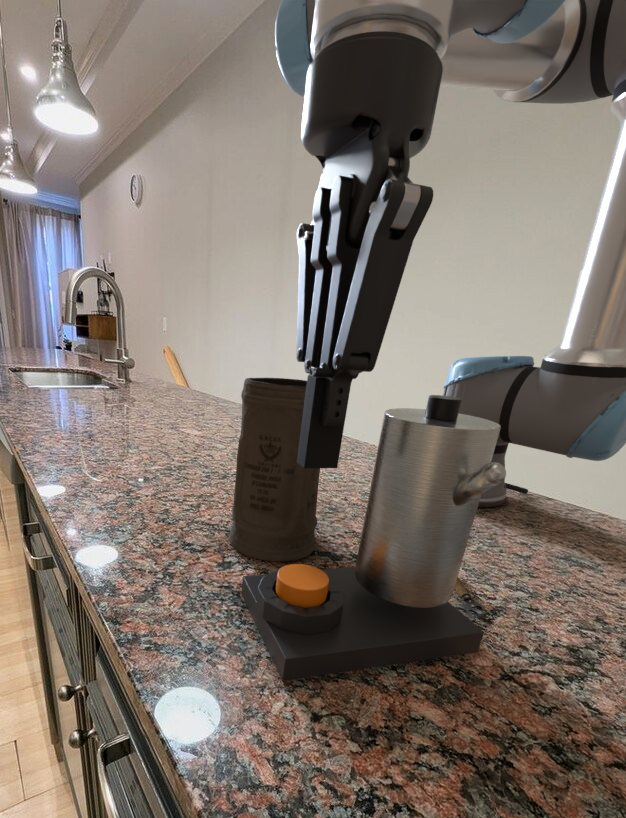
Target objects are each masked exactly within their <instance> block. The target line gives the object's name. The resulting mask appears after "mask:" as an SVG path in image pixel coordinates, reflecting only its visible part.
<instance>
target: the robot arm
mask: <svg viewBox="0 0 626 818" xmlns="http://www.w3.org/2000/svg"><path fill="white" fill-rule="evenodd" d="M276 13H277V14H276V18H275V24H274V37H275V39H274V44H275V54H276V59H277V63H278V67H279V70H280V72H281V74H282V77H283V78H284V80H285V82H286V84H287V85H288V87H289V88H290V89H291V90H292V91H293V92H294V93H295V94H296V95H298V96H300V97H303V98H304V99H303V109H302V119H301V127H300V139H301V143H302V145H303V148H304V149H305V150H306V152H307V153H308V154H309V155H311V156H312V157H314V158H316V159H317V160H318V161H319V163H320V164H321V167H322V171H321V174H320V178H319V183H318V186H317V189H316V191H315V194H314V199H313V206H312V221H311V223H305V222H303V223H302V222H300V224H299V225H298V228H297V229H296V244H297V251H298V287H297V288H298V290H297V318H296V319H297V320H296V321H297V323H296V330H297V331H296V352H295V353H296V354H295V355H296V356H295V357H296V361H297V362H299V363H304V364H303V367H304V371H305V373H306V374H307V379H306V381H307V386H306V394H305V402H304V410H303V418H302V426H301V434H300V442H299V450H298V458H297V463H298V464H299V465H301V466H302V467H303V468H320V469H338V466H339V460H340V454H341V447H342V442H343V441H342V440H343V434H344V428H345V423H346V417H347V412H348V405H349V399H350V393H351V386H352V382H353V380H356V379H357V378H358V377H359V375H360V374H361V373H363V372H365V373H370V372H373V370H374V369H375V367H376V364H377V360H378V357H379V354H380V351H381V348H382V344H383V341H384V338H385V335H386V332H387V327H388V325H389V321H390V319H391V315H392V312H393V309H394V305H395V301H396V298H397V296H398V292H399V288H400V285H401V282H402V278H403V275H404V273H405V269H406V266H407V262H408V259H409V256H410V253H411V249H412V247H413V244H414V240H415V238H416V236H417V234H418V232H419V230H420V228H421V225H422V224H423V222H424V220H425V218H426V216H427V215H428V211H429V210H430V207H431V205H432V203H433V199H434V189H433V187H431V186H428V185H424V184H418V183H414V182H413V181H412V180H411V179H410V177H408V176H409V173H410V167H411V160H410V159H412V158H414V157H415V156H417V155H418V154H419V153H421V151H423V150H424V149H425V148H426V146H427V145H428V143H429V141H430V139H431V135H432V131H433V126H434V120H435V115H436V109H437V105H438V101H439V100H438V99H439V95H440V89H441V88H451V89H468V90H469V89H470V90H471V89H472V90H490V91H491V90H493V92H494V93H495V94H496V96H497V97H498V98H499V99H501V100H503V101H505V102H509V103H526V104H527V103H529V104H561V105H562V104H577V103H587V102H591V101H596V100H600V99H605V98H608V97H612V100H611V103H610V107H609V111H610V112H611V113H612V114H613V115H614V117H615V119H617V121H618V122H619V124H620V126H619V127H620V128H619V130H618V135H617V138H616V142H615V145H614V148H613V153H612V156H611V160H610V163H609V167H608V170H607V174H606V177H605V182H604V184H603V188H602V191H601V196H600V199H599V203H598V206H597V209H596V214H595V217H594V219H593V223H592V227H591V232H590V235H589V239H588V242H587V246H586V249H585V252H584V256H583V259H582V263H581V267H580V270H579V274H578V276H577V277H578V278H577V281H576V284H575V289H574V292H573V295H572V298H571V303H570V306H569V309H568V313H567V317H566V320H565V324H564V328H563V331H562V335H561V338H560V342H559V344H558V345H557V346H556V347H554V348H553V349H552V350H550V351H549V352H547V353H546V354H544V355H543V357H542V361H541V365H540V366H539V367H538V366H535V362H534V357H533V356H530V355H507V356H505V355H504V356H501V355H499V356H498V355H497V356H496V355H495V356H475V357H463V358H459V359H457V360H456V361H455V360H454V362H452V365H450V368H449V370H448V374H447V377H446V380H445V383H444V385H443V392H442V396H450V397H456V398H460V399H462V402H461V406H460V410H459V414H464V415H470V416H474V417H479V418H483V419H487V420H490V421H493V422H495V423H497V424H499V425H500V426H501V429H500V432H499V436H498V439H497V443H496V446H495V449H494V453H493V456H492V460H491V462H497V463H500V464H501V465H503V466H504V468H505V469H506V454H507V450H508V447H509V444H513V445H517V446H522V447H526V448H531V449H534V450H539V451H544V452H549V453H553V454H558V455H560V456H561V455H562V456H566V458H569V459H572V458H576V459H581V460H582V459H583V460H588V461H593V462H601V461H606V460H608V459H611V458H613V456H615V455H616V454H617V453H618V452H619V451H621V449H623V448H624V446H625V445H626V0H281V2H280V3H279V6H278V9H277V12H276ZM505 481H506V478H505V479H504V480H503V481H502V482H501V483H500V484H498V485H496V486H495V487H493V488H491V489H489V490H488V491H486V492H484V493H483V494H481V498H480V501H479V505H478V508H494V507H499V506H502V504H504V503H505V499H506V495H507V490H510V491H514V492H518V493H520V494H525V495H526V494H528V493H529V490H528V489H529V488H525V487H521V486H518V485H515V484H511V483H508V482H505Z"/></svg>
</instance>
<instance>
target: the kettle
mask: <svg viewBox="0 0 626 818" xmlns="http://www.w3.org/2000/svg"><path fill="white" fill-rule="evenodd" d="M461 402H462V399H460V398H456V397H450V396H443V395H441V394H430V395H429V396H428V399H427V403H426V407H425V408H410V407H409V408H407V407H404V408H403V407H401V408H400V407H399V408H397V407H396V408H389V409H386V410H384V413H383V419H382V424H381V430H380V435H379V440H378V445H377V450H376V456H375V462H374V467H373V472H372V476H371V482H370V486H369V487H370V488H369V493H368V498H367V503H366V509H365V515H364V520H363V524H362V529H361V534H360V541H359V546H358V551H357V556H356V561H355V566H354V567H355V577H356V579H357V581H358V582H359V583H360V585H361V586H362V587H364V588H365V589H366V590H367V591H369V592H370V593H372V594H374V595H376V596H377V597H379V598H382V599H384V600H387V601H389V602H392V603H396V604H399V605H403V606H409V607H417V608H431V607H437V606H441V605H443V604H445V603H447V602H450V600H451V599H452V597H453V594H454V590H455V589H454V587H455V584H456V580H457V577H458V578H459V573H460V570H461V566H462V562H463V559H464V555H465V553H466V549H467V545H468V542H469V539H470V535H471V532H472V529H473V525H474V523H475V522H474V521H475V518H476V514H477V511H478V508H479V507H478V505H479V501H480V498H481V494H483V493H484V492H486V491H488V490H489V489H491V488H493V487H495V486H496V485H498V484H500V483H501V482H502V481H503V480H504V479H505V480H506V477H507V469H506V467H505V468H504V466H503V465H501V464H500V463H497V462H491V460H492V456H493V453H494V449H495V446H496V443H497V439H498V436H499V432H500V429H501V426H500V425H499V424H497V423H495V422H493V421H490V420H487V419H483V418H479V417H474V416H470V415H464V414H459V410H460V406H461Z"/></svg>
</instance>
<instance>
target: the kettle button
mask: <svg viewBox="0 0 626 818" xmlns="http://www.w3.org/2000/svg"><path fill="white" fill-rule="evenodd" d="M278 570H279V571H278V574H277V582H276V594H277V596H278V597H279V598H280V599H281V600H283V601H285V602H286V603H288V604H290V605H295V606H300V607H305V608H306V607H315V606H320V605H322V604H323V603H324V602H325V601H326V598H327V592H328V586H329V578H328V576H327V574H326V573H324V572H323V571H322V570H323V569H320V568H318V567H316V566H313V565H309V564H303V563H291V564H287V565H284V566H282V567H280V568H279V569H278Z"/></svg>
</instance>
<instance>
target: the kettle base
mask: <svg viewBox="0 0 626 818" xmlns="http://www.w3.org/2000/svg"><path fill="white" fill-rule="evenodd" d="M355 567H356V566H353V567H352V566H351V567H341V568H339V567H338V568H332V569H331V568H327V569H321V570H322V571H323V572H324V573H326V574H327V576H328V578H329V586H328V592H327V598H326V601H325V602H324V603H323V604H322V605H320V606H315V607H306V608H305V607H300V606H295V605H290V604H288V603H286V602H285V601H283V600H281V599H280V598H279V597H278V596H277V594H276V582H277V574H278V571H279V570H280V569H277V570H275V571H273V572H270V573H266V574H265V573H264V574H254V575H253V574H252V575H243V576H242V582H241V591H240V593H241V597H242V599H243V601H244V603H245V606H246V607H247V610H248V612H249V614H250V616H251V618H252V621H253V622H254V625H255V627H256V629H257V631H258V633H259V635H260V637H261V639H262V641H263V643H264V646H265V648H266V650H267V652H268V654H269V656H270V659H271V660H272V663H273V664H274V667H275V668H276V670H277V673H278V676H279V677H280V679H281V681H282V682H286V681H295V680H300V679H306V678H313V677H320V676H321V677H322V676H327V675H333V674H340V673H341V674H342V673H348V672H354V671H361V670H367V669H374V668H375V669H376V668H381V667H388V666H395V665H401V664H409V663H414V662H421V661H427V660H435V659H441V658H448V657H453V656H461V655H467V654H468V655H469V654H474V653H475V654H476V653H478V652H479V650H480V646H481V643H482V640H483V637H484V635H485V631H484V630H482V629H481V628H480V627H479V626H478V625H477V624H475V623H474V622H473V621H472V620H470V619H469V618H468V617H467V616H466V615H465V614H463V613H462V612H461V611H460V610H459V609H458V608H457V607H455V606H454V605H453V604H451V602H450V601H448V602H447V603H445V604H443V605H441V606H437V607H431V608H417V607H409V606H403V605H399V604H396V603H392V602H389V601H387V600H384V599H382V598H379V597H377V596H376V595H374V594H372V593H370V592H369V591H367V590H366V589H365V588H364V587H362V586H361V585H360V583H359V582H358V581H357V579H356V577H355Z"/></svg>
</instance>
